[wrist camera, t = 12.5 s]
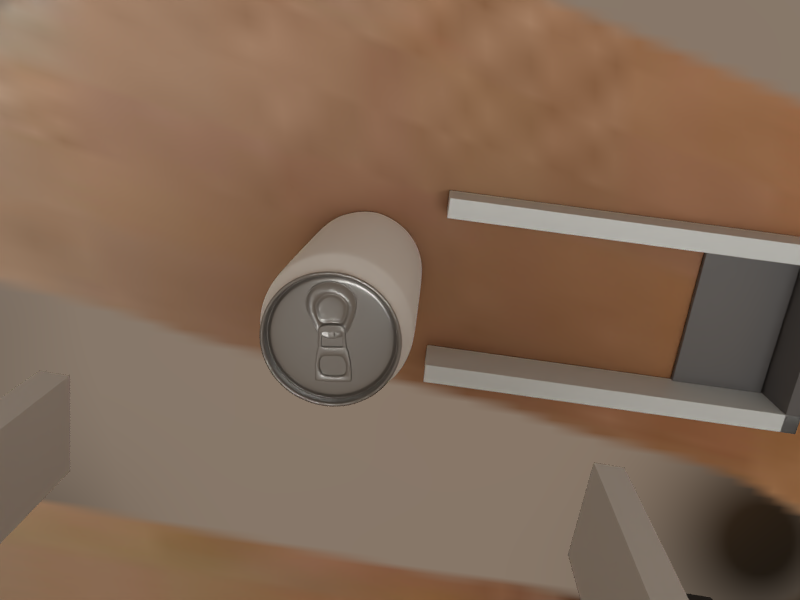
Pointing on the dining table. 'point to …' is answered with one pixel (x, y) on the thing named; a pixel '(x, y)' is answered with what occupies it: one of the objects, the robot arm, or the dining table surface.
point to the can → (343, 311)
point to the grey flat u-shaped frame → (703, 333)
